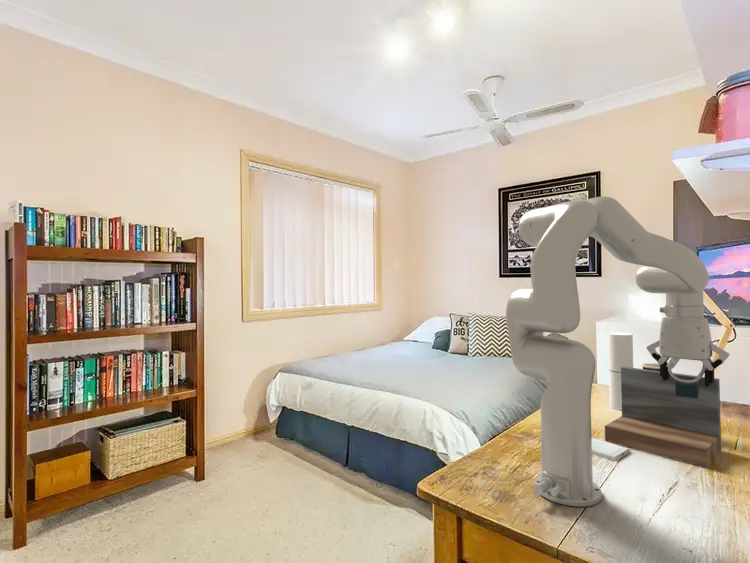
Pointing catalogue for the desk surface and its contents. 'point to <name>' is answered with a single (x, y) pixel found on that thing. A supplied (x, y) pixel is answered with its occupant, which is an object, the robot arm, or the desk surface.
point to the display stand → (667, 417)
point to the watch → (685, 382)
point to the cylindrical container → (618, 364)
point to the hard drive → (608, 450)
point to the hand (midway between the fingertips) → (686, 382)
